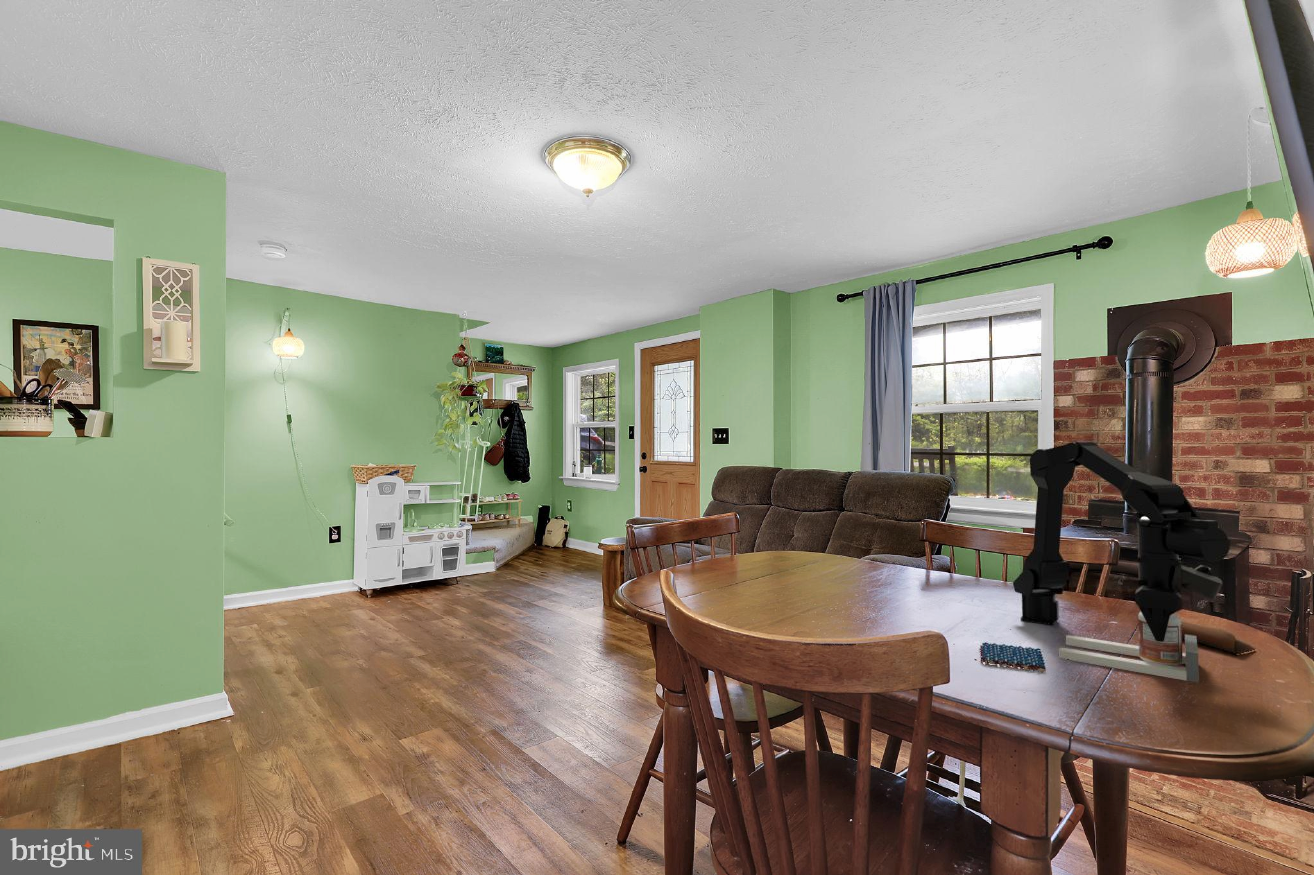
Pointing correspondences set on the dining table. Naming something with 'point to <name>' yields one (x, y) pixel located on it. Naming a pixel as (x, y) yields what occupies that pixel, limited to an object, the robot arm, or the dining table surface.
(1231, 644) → the sunglasses case
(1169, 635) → the pill bottle
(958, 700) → the dining table surface
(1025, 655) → the woven mat
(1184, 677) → the guide track
